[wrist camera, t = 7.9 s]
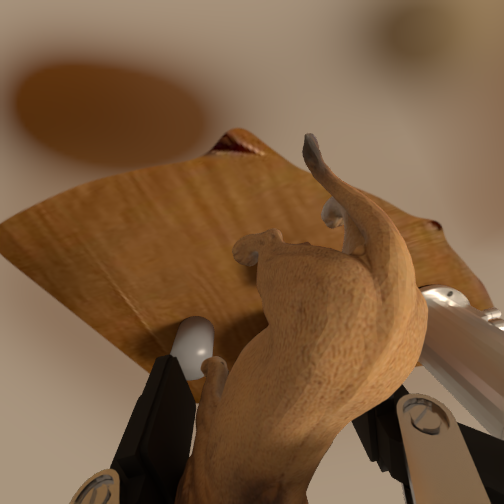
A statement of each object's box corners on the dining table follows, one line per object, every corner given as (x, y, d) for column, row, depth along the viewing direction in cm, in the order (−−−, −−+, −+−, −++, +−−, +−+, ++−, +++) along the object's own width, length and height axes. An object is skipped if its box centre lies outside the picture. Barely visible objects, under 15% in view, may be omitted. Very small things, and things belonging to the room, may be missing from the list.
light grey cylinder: (208, 312, 34) (204, 341, 28) (218, 341, 36) (216, 374, 30) (173, 321, 34) (161, 351, 28) (184, 350, 36) (176, 384, 30)
